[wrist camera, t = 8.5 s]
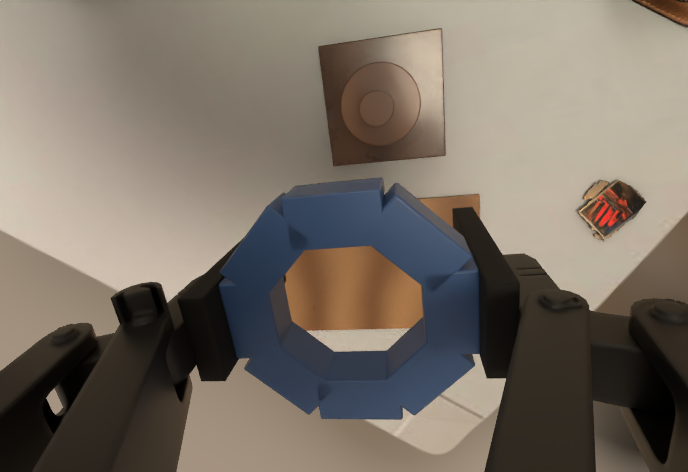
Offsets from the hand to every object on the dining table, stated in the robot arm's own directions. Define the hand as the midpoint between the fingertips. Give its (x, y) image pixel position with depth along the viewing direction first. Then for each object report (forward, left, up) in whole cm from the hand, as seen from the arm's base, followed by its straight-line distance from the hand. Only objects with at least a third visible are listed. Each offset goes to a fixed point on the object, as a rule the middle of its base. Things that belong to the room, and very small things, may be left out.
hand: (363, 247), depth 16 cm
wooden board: (-2, -11, -21) cm, 24 cm away
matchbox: (+19, -6, -21) cm, 30 cm away
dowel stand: (0, +5, -21) cm, 22 cm away
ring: (0, 0, +4) cm, 4 cm away
